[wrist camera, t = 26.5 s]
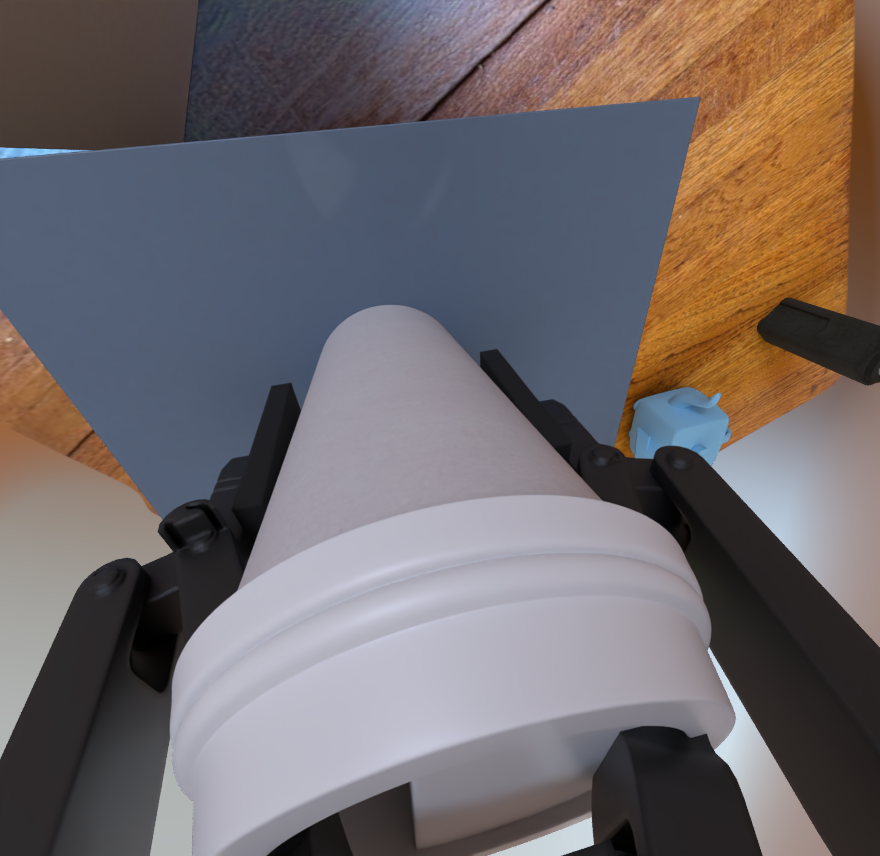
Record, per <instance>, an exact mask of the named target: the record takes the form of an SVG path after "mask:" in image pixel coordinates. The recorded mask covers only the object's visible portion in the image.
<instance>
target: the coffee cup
mask: <svg viewBox="0 0 880 856" xmlns="http://www.w3.org/2000/svg"><path fill="white" fill-rule="evenodd" d="M710 640H711V621H710V616H709V613H708V610H707V608H706V606H705V603H704V602H703V596H702V592H701V589H700V586H699V583H698V581H697V579H696V577H695V575H694V573H693V571H692V569H691V567H690V566H689V564H688V562H687V559H686V557H685V555H684V553H683V551H682V549H681V547H680V545H679V544H678V542H677V541H676V540H675V538H674V537H673V536H672V535H671V534H670V533H669V532H668V531H667V530H666V529H665V528H663V527H662V526H661V525H660V524H658V523H657V522H655V521H654V520H652V519H650V518H648V517H647V516H645V515H643V514H641V513H638V512H636V511H634V510H631V509H628V508H626V507H623V506H620V505H616V504H613V503H609V502H604V501H602V500H601V499H600V498H599V496H598V495H597V494H596V493H595V492H594V491H593V490H592V489H591V488H590V487H589V486H588V485H587V484H586V483H585V481H584V480H583V479H582V478H581V477H580V476H579V475H578V474H577V473H576V472H575V471H574V470H573V469H572V467H571V466H570V465H569V464H568V463H567V462H566V461H565V460H564V459H563V458H562V457H561V456H560V454H559V453H558V452H557V451H556V450H555V449H554V448H553V447H552V446H551V445H550V444H549V442H548V441H547V440H546V439H545V438H544V437H543V436H542V435H541V434H540V433H539V432H538V430H537V429H536V428H535V427H534V426H533V425H532V424H531V423H530V422H529V421H528V420H527V418H526V417H525V416H524V415H523V414H522V413H521V412H520V411H519V410H518V409H517V407H516V406H515V405H514V404H513V403H512V402H511V401H510V400H509V399H508V398H507V396H506V395H505V394H504V393H503V392H502V391H501V390H500V389H499V388H498V387H497V385H496V384H495V383H494V382H493V381H492V380H491V379H490V378H489V377H488V375H487V374H486V373H485V372H484V371H483V370H482V369H481V368H480V367H479V366H478V364H477V363H476V362H475V361H474V360H473V359H472V358H471V357H470V356H469V354H468V353H467V352H466V351H465V350H464V349H463V348H462V347H461V346H460V345H459V343H458V342H457V341H456V340H455V339H454V338H453V337H452V336H451V335H450V333H449V332H448V331H447V330H446V329H445V328H444V327H443V326H442V325H441V324H440V323H439V322H438V321H437V320H435V319H434V318H433V317H431V316H430V315H428V314H426V313H424V312H422V311H420V310H417V309H414V308H411V307H407V306H402V305H380V306H374V307H370V308H367V309H364V310H362V311H359V312H357V313H355V314H353V315H352V316H350V317H348V318H347V319H346V320H344V321H343V322H342V323H341V324H340V325H339V326H337V328H336V329H335V330H334V331H333V332H332V333H331V335H330V336H329V338H328V339H327V341H326V343H325V345H324V347H323V350H322V353H321V355H320V358H319V361H318V364H317V367H316V370H315V373H314V376H313V379H312V382H311V384H310V387H309V390H308V393H307V396H306V399H305V402H304V405H303V408H302V410H301V413H300V416H299V419H298V422H297V425H296V428H295V431H294V433H293V436H292V439H291V442H290V445H289V448H288V451H287V453H286V456H285V459H284V462H283V465H282V468H281V471H280V473H279V476H278V479H277V482H276V485H275V488H274V490H273V493H272V496H271V499H270V502H269V505H268V507H267V510H266V513H265V516H264V519H263V521H262V524H261V527H260V530H259V533H258V535H257V538H256V541H255V544H254V546H253V549H252V552H251V555H250V558H249V560H248V563H247V566H246V569H245V571H244V574H243V577H242V580H241V582H240V585H239V588H238V591H237V592H235V593H234V594H233V595H232V596H230V597H229V598H228V599H227V600H226V601H224V602H223V603H222V604H221V605H220V606H219V607H218V608H217V609H215V610H214V611H213V612H212V613H211V614H210V615H209V616H208V617H207V619H206V620H205V621H204V622H203V623H202V624H201V625H200V626H199V628H198V629H197V630H196V631H195V633H194V634H193V635H192V637H191V638H190V639H189V641H188V642H187V644H186V646H185V647H184V649H183V651H182V653H181V655H180V657H179V659H178V662H177V664H176V667H175V671H174V675H173V680H172V704H171V716H170V740H171V745H172V748H173V755H172V756H173V770H174V774H175V778H176V780H177V783H178V785H179V787H180V788H181V790H182V791H183V793H185V795H186V796H187V797H188V798H189V799H190V800H191V801H193V835H192V856H267V855H268V854H269V853H270V852H271V851H273V850H274V849H275V848H276V847H278V846H279V845H280V844H282V843H283V842H285V841H286V840H288V839H289V838H291V837H292V836H294V835H296V834H297V833H299V832H301V831H302V830H304V829H306V828H308V827H310V826H311V825H313V824H315V823H317V822H319V821H321V820H323V819H325V818H327V817H329V816H331V815H333V814H335V813H337V812H338V813H339V816H340V819H341V822H342V825H343V828H344V831H345V834H346V837H347V840H348V843H349V846H350V849H351V851H352V853H353V856H487V855H490V854H493V853H496V852H499V851H502V850H505V849H508V848H511V847H514V846H517V845H520V844H523V843H525V842H528V841H531V840H534V839H537V838H539V837H542V836H545V835H547V834H550V833H552V832H555V831H558V830H560V829H563V828H566V827H568V826H571V825H573V824H576V823H578V822H581V821H583V820H585V819H588V818H590V817H592V811H591V795H592V777H593V775H594V774H595V772H596V770H597V769H598V767H599V765H600V764H601V762H602V760H603V759H604V757H605V756H606V754H607V752H608V751H609V749H610V747H611V746H612V744H613V742H614V741H615V739H616V737H617V736H618V734H619V732H620V731H624V730H629V729H633V728H636V727H640V726H665V727H672V728H677V729H680V730H682V731H684V732H685V733H686V735H687V736H688V737H691V738H692V737H696V736H699V735H703V734H706V733H707V735H708V738H709V741H710V743H711V746H712V748H713V749H715V748H717V747H718V746H719V745H720V744H721V743H722V742H723V741H724V740H725V739H726V738H727V736H728V735H729V734H730V732H731V731H732V729H733V727H734V724H735V719H736V717H735V712H734V710H733V707H732V705H731V703H730V700H729V698H728V696H727V693H726V691H725V689H724V687H723V684H722V682H721V680H720V678H719V676H718V673H717V671H716V669H715V667H714V665H713V662H712V660H711V658H710V656H709V654H708V651H707V650H708V648H709V644H710Z"/></svg>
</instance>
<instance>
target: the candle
mask: <svg viewBox="0 0 880 856" xmlns="http://www.w3.org/2000/svg"><path fill="white" fill-rule="evenodd" d="M757 330H758V332H759V333H760V334H761V336H762V337H763V338H764V340H765V341H766V342H768V343H770V344H773V345H775V346H777V347H779V348H782V349H784V350H786V351H789V352H791V353H793V354H795V355H798V356H800V357H802V358H805V359H807V360H809V361H811V362H814V363H816V364H818V365H821V366H823V367H825V368H828V369H830V370H832V371H834V372H837V373H839V374H841V375H844V376H846V377H848V378H850V379H853V380H855V381H857V382H860V383H862V384H864V385H872V384H874V383H879V382H880V326H878V325H875V324H872V323H869V322H865V321H863V320H859V319H856V318H853V317H850V316H847V315H843V314H840V313H837V312H834V311H831V310H828V309H824V308H821V307H818V306H815V305H812V304H808V303H805V302H802V301H799V300H796V299H792V298H786V299H784V300H783V301H782V302H780V305H779V306H777V307H776V308H775V309H774V310H773V311H772V312H771V313H770V314H769V315H768V316H767V317H766V318H765V319H762V320H761V321H760V323H759V324H758V327H757Z"/></svg>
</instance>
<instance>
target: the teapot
mask: <svg viewBox="0 0 880 856" xmlns="http://www.w3.org/2000/svg"><path fill="white" fill-rule="evenodd" d="M720 397H721V393H717V394H715V395H714V396H712V397H711V398H708V397H707V396H705V395H704V394H703V393H701V392H700V391H698V390H696V389H693V388H690V387H685V388H680V389H675V390H671V391H667V392H663V393H659V394H656V395H652V396H648V397H645V398H642V399H640V400H638V401H637V402H636V403H635V404H634V407H633V408H634V410H635V414H634V418H633V422H632V427H631V430H630V431H629V436H630V449H631V451H632V453H633V454H634V458H646V459H653V457H654V454H655V451H656V450H657V449H659V448H660V447H664V446H680V447H684V448H688V449H690V450H692V451H694V452H696V453H698V454H699V455H700V456H702V457H703V458H704V459H705V460H706V461H707V462H708V464H709V465H710V466H712V464H713V462H714V461H715V459H716V456H717V454H718V452H719V450H720V447H721V445H722V444H723V443H726V442H727V441H728V440H729V439H730V437H731V430H730V429H729V428H728V423H729V417H728V416H727V415H726V414H725V413H724V412H723V411H722V410H721V409H720V408H719V407H718V406H717V405H716V403H717V402H718V401H719V399H720Z"/></svg>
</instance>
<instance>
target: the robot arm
mask: <svg viewBox="0 0 880 856" xmlns="http://www.w3.org/2000/svg"><path fill="white" fill-rule="evenodd" d="M480 368H481V369H482V370H483V371H484V372H485V373H486V374H487V375H488V377H489V378H490V379H491V380H492V381H493V382H494V383H495V384H496V385H497V387H498V388H499V389H500V390H501V391H502V392H503V393H504V394H505V395H506V396H507V398H508V399H509V400H510V401H511V402H512V403H513V404H514V405H515V406H516V407H517V409H518V410H519V411H520V412H521V413H522V414H523V415H524V416H525V417H526V418H527V420H528V421H529V422H530V423H531V424H532V425H533V426H534V427H535V428H536V429H537V430H538V432H539V433H540V434H541V435H542V436H543V437H544V438H545V439H546V440H547V441H548V442H549V444H550V445H551V446H552V447H553V448H554V449H555V450H556V451H557V452H558V453H559V454H560V456H561V457H562V458H563V459H564V460H565V461H566V462H567V463H568V464H569V465H570V466H571V467H572V469H573V470H574V471H575V472H576V473H577V474H578V475H579V476H580V477H581V478H582V479H583V480H584V481H585V483H586V484H587V485H588V486H589V487H590V488H591V489H592V490H593V491H594V492H595V493H596V494H597V495H598V496H599V498H600V499H601V500H602V501H604V502H609V503H613V504H616V505H620V506H623V507H626V508H628V509H631V510H634V511H636V512H638V513H641V514H643V515H645V516H647V517H648V518H650V519H652V520H654V521H655V522H657V523H658V524H660V525H661V526H662V527H663V528H665V529H666V530H667V531H668V532H669V533H670V534H671V535H672V536H673V537H674V538H675V540H676V541H677V542H678V544H679V545H680V547H681V549H682V551H683V553H684V555H685V557H686V559H687V562H688V564H689V566H690V567H691V569H692V571H693V573H694V575H695V577H696V579H697V581H698V583H699V586H700V589H701V592H702V596H703V602H704V603H705V606H706V608H707V610H708V613H709V616H710V621H711V640H710V644H709V647H710V649H711V651H712V653H713V654H714V656H715V658H716V659H717V661H718V663H719V664H720V666H721V668H722V670H723V671H724V673H725V675H726V677H727V678H728V680H729V681H730V683H731V685H732V686H733V688H734V690H735V692H736V693H737V695H738V697H739V699H740V700H741V702H742V704H743V705H744V707H745V709H746V711H747V712H748V714H749V716H750V717H751V719H752V721H753V722H754V724H755V726H756V728H757V729H758V731H759V733H760V734H761V736H762V738H763V739H764V741H765V743H766V745H767V746H768V748H769V750H770V751H771V753H772V755H773V756H774V758H775V760H776V762H777V763H778V765H779V767H780V768H781V770H782V772H783V774H784V775H785V777H786V779H787V780H788V782H789V784H790V786H791V787H792V789H793V791H794V792H795V794H796V796H797V797H798V799H799V801H800V802H801V804H802V806H803V808H804V809H805V811H806V813H807V815H808V816H809V818H810V820H811V821H812V823H813V825H814V826H815V828H816V830H817V832H818V833H819V835H820V836H821V838H822V840H823V841H824V843H825V844H826V846H827V847H828V849H829V851H830V852H831V854H832V855H833V856H880V647H878V645H877V644H876V643H875V642H874V641H873V640H872V639H871V638H870V637H869V636H868V634H866V632H865V631H864V630H863V629H862V628H861V627H860V626H859V625H858V624H857V623H856V622H855V621H854V619H853V618H852V617H851V616H850V615H849V614H848V613H847V612H846V611H845V610H844V609H843V608H842V607H841V605H839V603H838V602H837V601H836V600H835V599H834V598H833V597H832V596H831V595H830V594H829V593H828V591H827V590H826V589H825V588H824V587H823V586H822V585H821V584H820V583H819V582H818V581H817V580H816V579H815V578H814V576H813V575H812V574H811V573H810V572H809V571H808V570H807V569H806V568H805V567H804V566H803V565H802V564H801V562H800V561H799V560H798V559H797V558H796V557H795V556H794V555H793V554H792V553H791V552H790V551H789V550H788V548H786V547H785V545H784V544H783V543H782V542H781V541H780V540H779V539H778V538H777V537H776V536H775V534H773V533H772V531H771V530H770V529H769V528H768V527H767V526H766V525H765V524H764V523H763V522H762V521H761V519H760V518H759V517H758V516H757V515H756V514H755V513H754V512H753V511H752V510H751V509H750V508H749V507H748V506H747V504H746V503H745V502H744V501H743V500H742V499H741V498H740V497H739V496H738V495H737V494H736V493H735V491H733V490H732V488H731V487H730V486H729V485H728V484H727V483H726V482H725V481H724V480H723V479H722V478H721V476H720V475H719V474H718V473H717V472H716V471H715V470H714V469H713V468H712V467H711V466H710V465H709V464H708V462H707V461H706V460H705V459H704V458H703V457H702V456H700V455H699V454H698V453H696V452H694V451H692V450H690V449H688V448H684V447H680V446H664V447H660V448H659V449H657V450H656V451H655V454H654V457H653V459H646V458H627V457H625V456H624V454H623V453H622V452H621V451H619V450H618V449H617V448H614V447H612V446H609V445H604V444H599V443H598V442H597V441H596V440H595V439H594V438H593V436H592V435H591V434H590V433H589V432H588V431H587V430H586V429H585V427H584V426H583V425H582V424H581V423H580V422H578V420H577V418H576V417H575V416H574V415H572V413H571V412H570V411H569V409H568V408H567V407H566V406H565V405H563V404H562V403H560V402H558V401H556V400H554V399H550V400H544V401H538V399H537V398H536V397H535V396H534V394H533V393H532V392H531V391H530V389H529V388H528V387H527V386H526V384H525V383H524V382H523V381H522V379H521V378H520V377H519V376H518V374H517V373H516V372H515V371H514V369H513V368H512V367H511V366H510V364H509V363H508V362H507V361H506V359H505V358H504V357H503V355H502V354H501V353H500V352H499V350H498V349H494V350H488V351H482V352H480ZM300 413H301V409H300V406H299V403H298V400H297V398H296V395H295V392H294V389H293V386H292V383H285V384H279V385H273V386H271V389H270V392H269V395H268V398H267V401H266V404H265V407H264V410H263V413H262V416H261V419H260V422H259V425H258V429H257V432H256V435H255V438H254V441H253V444H252V447H251V450H250V453H249V455H248V456H242V457H237V458H232V459H231V460H230V461H229V462H228V463H227V464H226V465H225V466H224V468H223V469H222V470H221V472H220V475H219V477H218V480H217V483H216V485H215V487H214V490H213V492H214V493H212V495H211V497H210V500H207V499H199V500H193V501H190V502H187V503H184V504H183V505H181V506H179V507H177V508H175V509H174V510H173V511H171V512H170V513H169V514H168V515H166V516H165V518H164V519H163V520H162V522H161V523H160V525H159V529H158V533H159V534H160V535H161V537H162V538H163V539H164V540H165V542H166V543H167V544H168V545H169V547H170V548H171V549H172V550H173V552H172V553H170V554H168V555H166V556H164V557H162V558H159V559H157V560H155V561H152V562H150V563H148V564H146V565H143V566H141V565H140V564H139V563H138V562H137V561H136V560H135V559H131V558H123V559H118V560H115V561H112V562H110V563H107V564H105V565H103V566H102V567H100V568H99V569H97V570H96V571H94V572H93V573H92V574H91V575H89V576H88V578H86V579H85V580H84V581H83V582H82V584H81V585H80V587H79V588H78V590H77V591H76V593H75V595H74V597H73V600H72V602H71V604H70V606H69V609H68V611H67V613H66V615H65V617H64V620H63V622H62V624H61V626H60V628H59V631H58V633H57V635H56V637H55V639H54V642H53V644H52V646H51V648H50V650H49V653H48V655H47V657H46V659H45V662H44V664H43V666H42V668H41V670H40V673H39V675H38V677H37V679H36V682H35V684H34V686H33V688H32V690H31V692H30V695H29V697H28V699H27V701H26V704H25V706H24V708H23V710H22V712H21V715H20V717H19V719H18V722H17V723H16V726H15V728H14V730H13V732H12V735H11V737H10V739H9V741H8V743H7V745H6V748H5V750H4V752H3V754H2V757H1V759H0V856H150V850H151V844H152V839H153V833H154V827H155V821H156V816H157V810H158V803H159V797H160V792H161V787H162V781H163V775H164V769H165V764H166V758H167V752H168V746H169V740H170V716H171V704H172V680H173V675H174V671H175V667H176V664H177V662H178V659H179V657H180V655H181V653H182V651H183V649H184V647H185V646H186V644H187V642H188V641H189V639H190V638H191V637H192V635H193V634H194V633H195V631H196V630H197V629H198V628H199V626H200V625H201V624H202V623H203V622H204V621H205V620H206V619H207V617H208V616H209V615H210V614H211V613H212V612H213V611H214V610H215V609H217V608H218V607H219V606H220V605H221V604H222V603H223V602H224V601H226V600H227V599H228V598H229V597H230V596H232V595H233V594H234V593H235V592H237V591H238V588H239V585H240V582H241V580H242V577H243V574H244V571H245V569H246V566H247V563H248V560H249V558H250V555H251V552H252V549H253V546H254V544H255V541H256V538H257V535H258V533H259V530H260V527H261V524H262V521H263V519H264V516H265V513H266V510H267V507H268V505H269V502H270V499H271V496H272V493H273V490H274V488H275V485H276V482H277V479H278V476H279V473H280V471H281V468H282V465H283V462H284V459H285V456H286V453H287V451H288V448H289V445H290V442H291V439H292V436H293V433H294V431H295V428H296V425H297V422H298V419H299V416H300ZM591 811H592V827H593V838H594V845H593V846H590V847H587V848H584V849H581V850H578V851H575V852H572V853H569V854H566V855H563V856H762V853H761V849H760V846H759V843H758V840H757V837H756V834H755V830H754V827H753V824H752V821H751V818H750V815H749V812H748V809H747V806H746V802H745V799H744V797H743V794H742V792H741V789H740V787H739V784H738V781H737V779H736V777H735V776H734V774H733V772H732V771H731V769H730V767H729V765H728V764H727V763H726V762H724V761H723V760H722V759H721V758H720V757H719V756H718V755H717V754H716V753H715V751H714V749H713V748H712V746H711V743H710V741H709V738H708V735H707V733H706V734H703V735H699V736H696V737H692V738H691V737H688V736H687V735H686V733H685V732H684V731H682V730H680V729H677V728H672V727H665V726H640V727H636V728H633V729H629V730H624V731H620V732H619V734H618V736H617V737H616V739H615V741H614V742H613V744H612V746H611V747H610V749H609V751H608V752H607V754H606V756H605V757H604V759H603V760H602V762H601V764H600V765H599V767H598V769H597V770H596V772H595V774H594V775H593V777H592V795H591ZM267 856H353V853H352V851H351V849H350V846H349V843H348V840H347V837H346V834H345V831H344V828H343V825H342V822H341V819H340V816H339V813H338V812H337V813H335V814H333V815H331V816H329V817H327V818H325V819H323V820H321V821H319V822H317V823H315V824H313V825H311V826H310V827H308V828H306V829H304V830H302V831H301V832H299V833H297V834H296V835H294V836H292V837H291V838H289V839H288V840H286V841H285V842H283V843H282V844H280V845H279V846H278V847H276V848H275V849H274V850H273V851H271V852H270V853H269V854H268V855H267Z"/></svg>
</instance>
